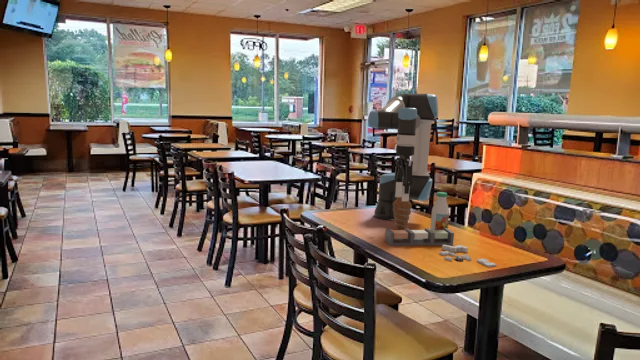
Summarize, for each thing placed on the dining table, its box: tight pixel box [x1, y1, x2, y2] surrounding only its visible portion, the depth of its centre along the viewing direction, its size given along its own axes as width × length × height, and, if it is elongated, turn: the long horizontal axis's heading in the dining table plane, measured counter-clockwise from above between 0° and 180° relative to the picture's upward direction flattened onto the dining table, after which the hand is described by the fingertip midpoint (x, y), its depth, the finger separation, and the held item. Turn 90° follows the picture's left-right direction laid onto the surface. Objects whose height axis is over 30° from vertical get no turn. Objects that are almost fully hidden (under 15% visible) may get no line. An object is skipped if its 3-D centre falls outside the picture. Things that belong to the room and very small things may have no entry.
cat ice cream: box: [393, 197, 413, 230], centre depth 220 cm, size 9×8×18 cm
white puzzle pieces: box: [438, 244, 497, 268], centre depth 183 cm, size 20×24×2 cm
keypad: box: [384, 227, 455, 247], centre depth 202 cm, size 8×28×6 cm, turn 99°
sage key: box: [431, 230, 448, 239], centre depth 203 cm, size 5×6×2 cm
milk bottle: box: [429, 191, 450, 230], centre depth 214 cm, size 8×8×20 cm
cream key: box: [410, 229, 428, 239], centre depth 201 cm, size 5×6×2 cm
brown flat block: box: [390, 229, 408, 239], centre depth 200 cm, size 5×6×2 cm
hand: (401, 198), depth 198 cm, fingers open, 8 cm apart
